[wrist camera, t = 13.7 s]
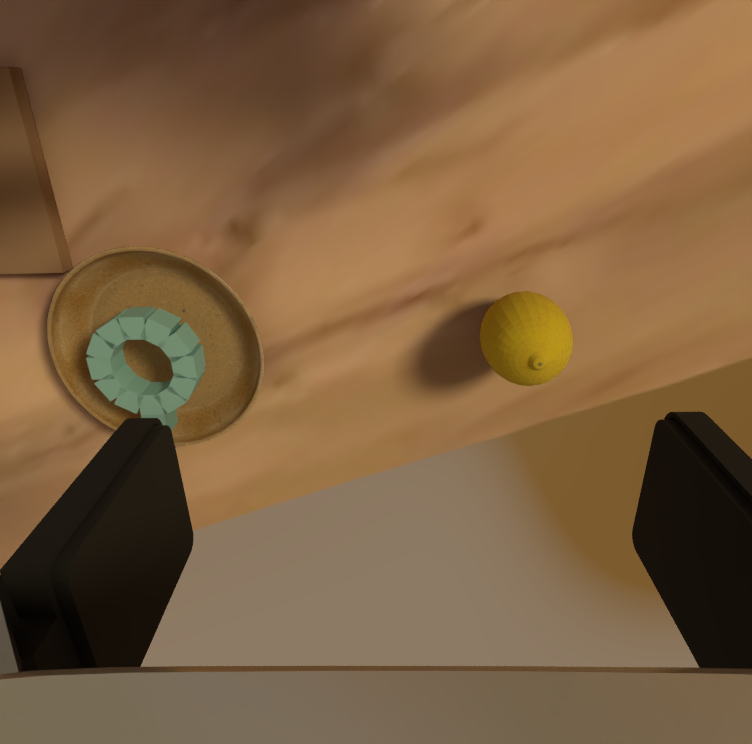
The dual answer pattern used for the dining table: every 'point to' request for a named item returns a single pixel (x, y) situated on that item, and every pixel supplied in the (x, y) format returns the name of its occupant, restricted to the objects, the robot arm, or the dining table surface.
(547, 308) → the lemon
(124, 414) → the plant saucer
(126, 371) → the ring
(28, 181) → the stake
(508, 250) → the dining table surface
